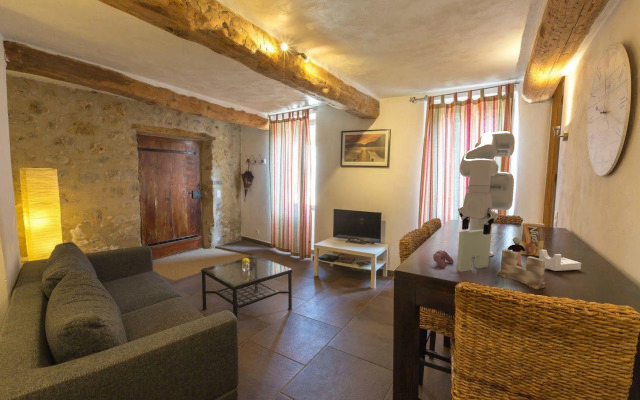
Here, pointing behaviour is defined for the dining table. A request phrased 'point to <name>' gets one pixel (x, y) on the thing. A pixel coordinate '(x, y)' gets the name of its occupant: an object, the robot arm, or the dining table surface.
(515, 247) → the grandmother figurine
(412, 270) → the dining table surface
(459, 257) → the sage plate
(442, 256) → the video game controller
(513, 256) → the birch stand
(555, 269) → the bracket
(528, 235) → the candy box
